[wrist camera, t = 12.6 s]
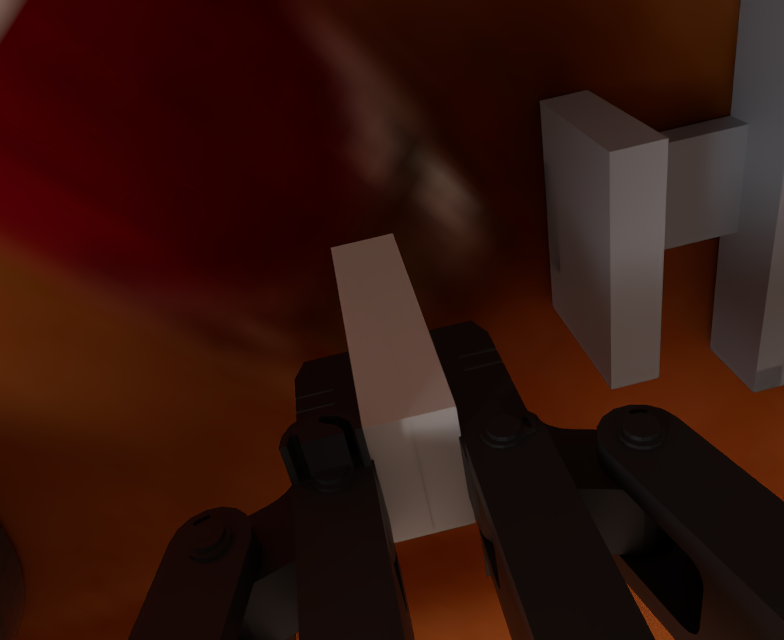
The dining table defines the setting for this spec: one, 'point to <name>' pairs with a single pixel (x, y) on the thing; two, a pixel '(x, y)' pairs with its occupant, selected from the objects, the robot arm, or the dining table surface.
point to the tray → (673, 216)
